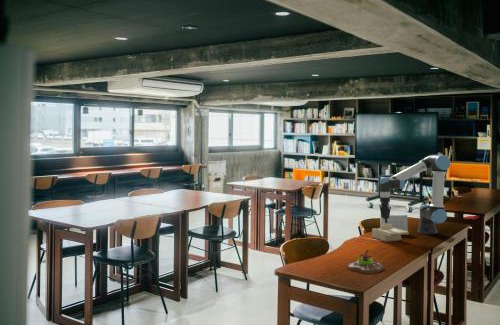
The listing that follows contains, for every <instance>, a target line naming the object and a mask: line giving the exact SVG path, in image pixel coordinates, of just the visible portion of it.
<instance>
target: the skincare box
mask: <svg viewBox="0 0 500 325" xmlns="http://www.w3.org/2000/svg"><path fill="white" fill-rule="evenodd" d="M379 218H380V219H379V220H380V221H379V222H380V225H383V218H382V217H381V214H380V215H379ZM390 224H392V228H398V229H401V230H405V231H408V232H409V230H408V225H409V224H408V214H390V216H389V218H388V219H387V225H390ZM402 235H407V234H403V233H402V234H401V236H402ZM407 236H408V235H407Z"/></svg>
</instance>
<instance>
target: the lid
mask: <svg viewBox="0 0 500 325" xmlns="http://www.w3.org/2000/svg"><path fill="white" fill-rule="evenodd" d="M379 228H380V229H377V232H378V233H381V234H384V235H387V236H391V234H402V233H403V234H407V236H408V235H409V230H408V231H405V230H401V229H398V228H392V224H390V225H380V226H379Z"/></svg>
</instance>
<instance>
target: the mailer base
mask: <svg viewBox="0 0 500 325" xmlns="http://www.w3.org/2000/svg"><path fill="white" fill-rule="evenodd" d="M377 229H380V227H377V228H375V227H374V228H371V237H372V238H373V239H375V240H376V239H377V240H379V241H382V242H386V243H388V242H397V241H398V242H399V241H401V240H402V235H401V234H391V236H387V235H384V234H381V233H378V232H377Z"/></svg>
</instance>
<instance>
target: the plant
mask: <svg viewBox="0 0 500 325" xmlns="http://www.w3.org/2000/svg"><path fill="white" fill-rule="evenodd" d="M367 253H368V254H369V253H370V250H369V249H367V250H365V253H364V254H359V255H358V257H357V261H355V262H351V263H348V265H347V270H349V271H353V272H357V273H360V274H361V273H362V274H370V275H372V274H376V273H380V272H383V271H384V270H385V265H383V264H382V263H380V262H375V261H374V257H373V256H372V255H367ZM361 256H362V257H361Z"/></svg>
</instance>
